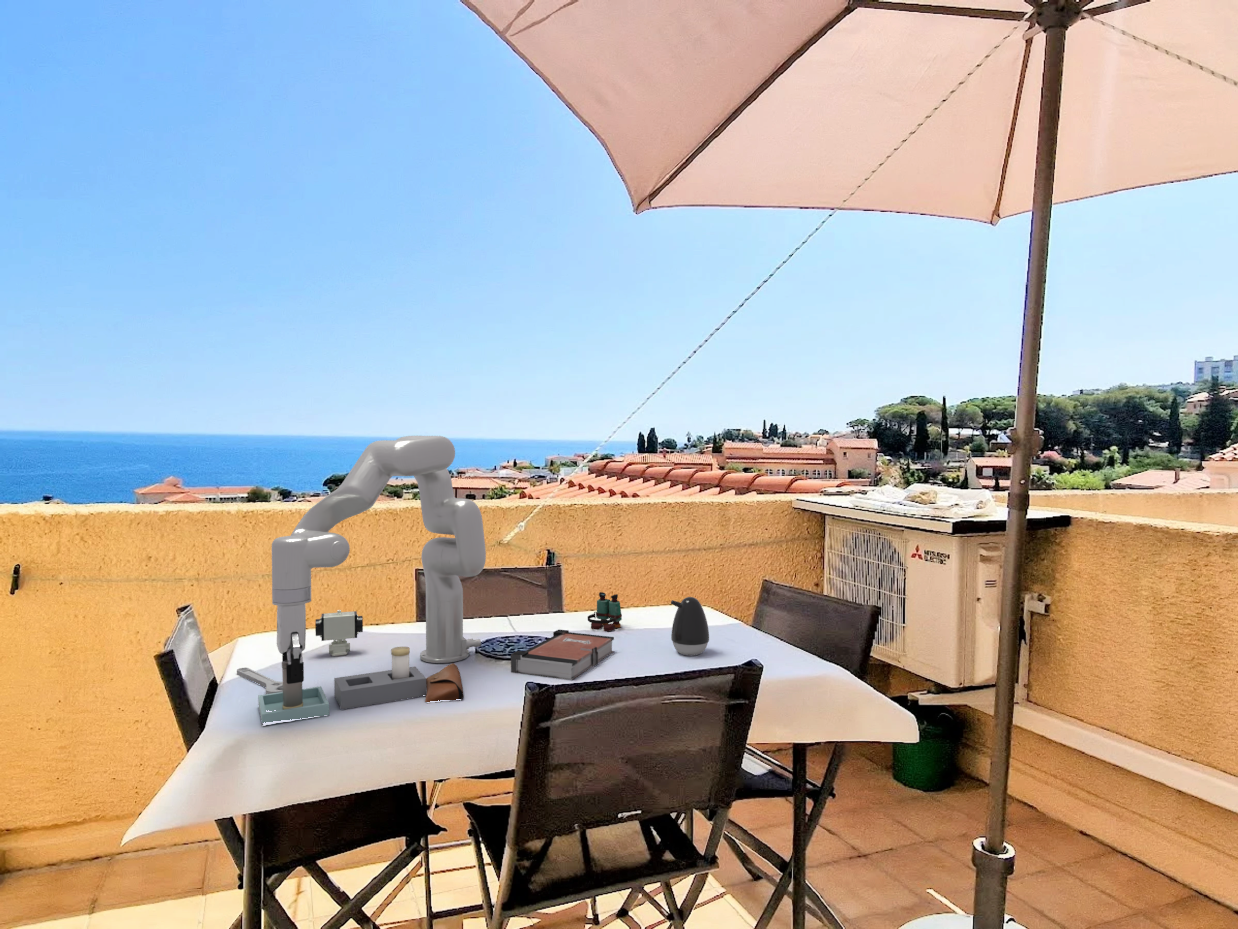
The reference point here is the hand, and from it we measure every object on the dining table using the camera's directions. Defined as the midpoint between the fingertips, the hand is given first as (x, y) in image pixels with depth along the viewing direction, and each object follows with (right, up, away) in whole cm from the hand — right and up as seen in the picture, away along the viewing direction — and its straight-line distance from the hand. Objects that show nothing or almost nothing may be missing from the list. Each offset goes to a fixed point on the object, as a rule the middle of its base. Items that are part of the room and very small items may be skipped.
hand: (292, 676), depth 156 cm
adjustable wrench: (-15, -8, +19) cm, 25 cm away
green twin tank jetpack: (+64, -6, +70) cm, 95 cm away
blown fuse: (0, -7, 0) cm, 7 cm away
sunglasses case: (+28, -8, +14) cm, 33 cm away
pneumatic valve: (-6, -7, +42) cm, 43 cm away
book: (+55, -7, +36) cm, 66 cm away
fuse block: (+15, -7, +10) cm, 20 cm away
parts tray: (0, -8, 0) cm, 7 cm away
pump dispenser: (+88, -7, +44) cm, 98 cm away
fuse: (+19, -7, +12) cm, 24 cm away
